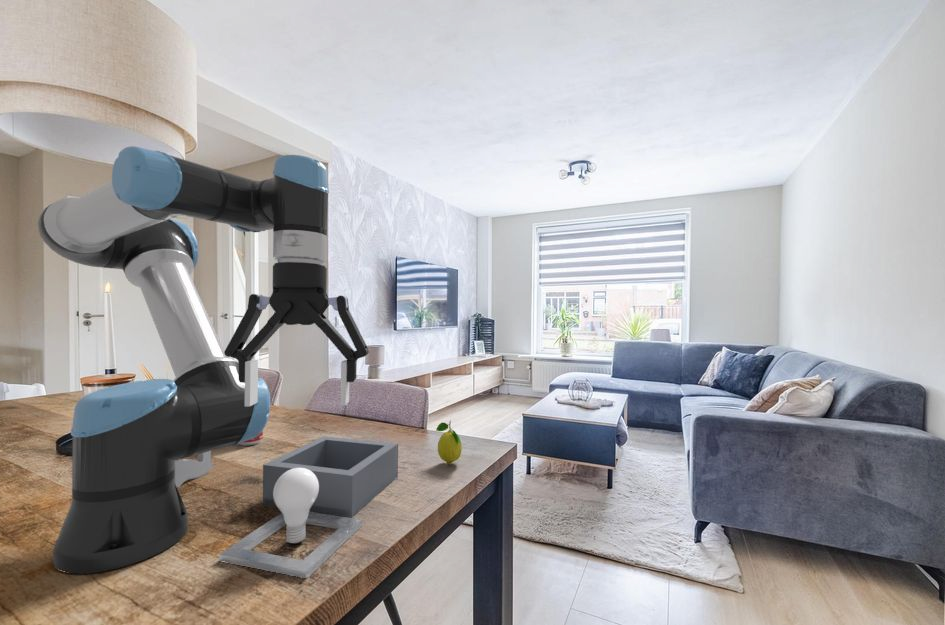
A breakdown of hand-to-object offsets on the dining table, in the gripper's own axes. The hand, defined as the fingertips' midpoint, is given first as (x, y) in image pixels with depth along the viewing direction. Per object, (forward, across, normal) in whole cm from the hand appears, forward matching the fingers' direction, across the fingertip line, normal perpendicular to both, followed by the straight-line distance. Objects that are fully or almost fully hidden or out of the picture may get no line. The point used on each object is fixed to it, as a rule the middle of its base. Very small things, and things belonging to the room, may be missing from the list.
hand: (298, 404), depth 62 cm
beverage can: (+21, -27, +50) cm, 60 cm away
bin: (+21, +2, +18) cm, 28 cm away
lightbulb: (+21, 0, 0) cm, 21 cm away
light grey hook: (+21, -28, +26) cm, 44 cm away
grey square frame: (+21, 0, 0) cm, 21 cm away
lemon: (+21, +24, +30) cm, 44 cm away
